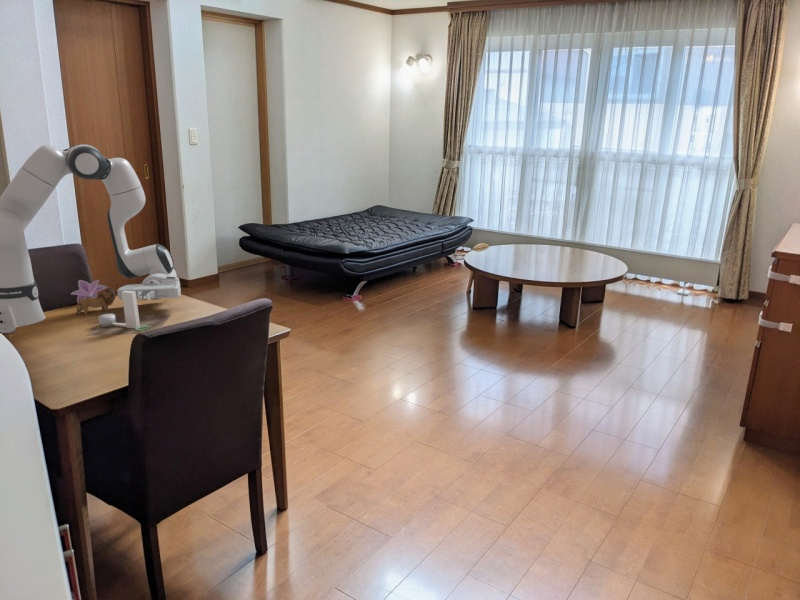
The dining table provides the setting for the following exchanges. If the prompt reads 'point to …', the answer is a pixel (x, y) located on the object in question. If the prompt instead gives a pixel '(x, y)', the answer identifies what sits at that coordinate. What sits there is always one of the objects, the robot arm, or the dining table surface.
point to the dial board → (145, 324)
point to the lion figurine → (97, 301)
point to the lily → (88, 289)
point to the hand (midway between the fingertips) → (142, 297)
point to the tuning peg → (129, 311)
